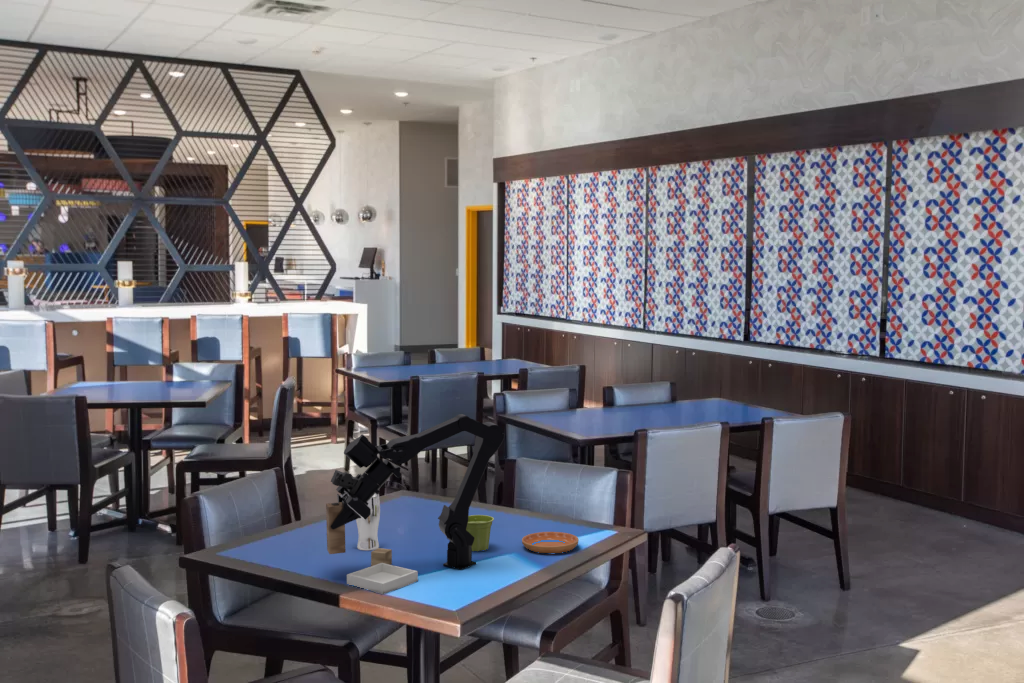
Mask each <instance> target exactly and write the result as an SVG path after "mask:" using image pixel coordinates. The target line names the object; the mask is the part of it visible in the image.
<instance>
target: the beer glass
mask: <svg viewBox="0 0 1024 683" xmlns="http://www.w3.org/2000/svg"><path fill="white" fill-rule="evenodd" d="M367 506H368V507H369V508H370V509H371V514H370V515H369V516H368V518H367V519H366V520H365V519H364V518H363V517H362V516H361V515H360V516H361V518H358V519H356V520H355V521H356V525H357V526H356V527H357V532H358V534H357V535H358V541H357V545H356V546H357V549H358V550H360V551H374V550H376V549H378V548H380V545H379V544H380V543H379V540H378V539H379V538H378V531H379V524H380V516H381V500H380V494H379V493H378V494H376V493H375V494H374V495H373V496H372V497H371V498H370V500H369V501H368V505H367Z"/></svg>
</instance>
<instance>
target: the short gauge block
mask: <svg viewBox="0 0 1024 683" xmlns="http://www.w3.org/2000/svg"><path fill="white" fill-rule="evenodd" d="M370 563H371V564H370V567H371V566H374V565H377V564H380V563H385V564H389V565H392V564H393V550H392V549H391V548H383V547H379V548H377V549H375V550H371V551H370Z"/></svg>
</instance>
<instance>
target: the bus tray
mask: <svg viewBox="0 0 1024 683" xmlns="http://www.w3.org/2000/svg"><path fill="white" fill-rule="evenodd" d="M418 573H419V571H418V570H414V569H410V568H406V567H402V566H398V565H397V566H396V565H392V564H391V565H389V564H385V563H380V564H377V565H374V566H371V565H370V566H369V567H365V568H362V569H359V570H356V571H353V572H350V573H347V574H346V585H347V584H349V585H354V586H357V587H360V588H359V589H361V588H364V589H363V590H365V589H368V590H371V591H370V592H372V591H374V592H373V593H376V592H377V594H380V595H385V594H388V593H391V592H392V591H396V590H398V589H401V588H404V587H406V586H409V585H412V584H415V583H416V581H417V582H418V581H419V580H418V579H419V578H418V577H419V575H418ZM414 582H415V583H414ZM349 585H348V586H349ZM357 587H356V588H357ZM368 590H367V591H368Z"/></svg>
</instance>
